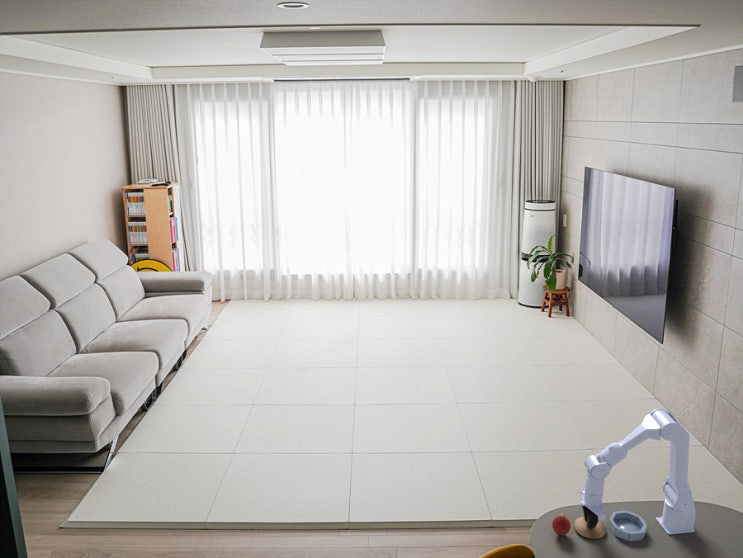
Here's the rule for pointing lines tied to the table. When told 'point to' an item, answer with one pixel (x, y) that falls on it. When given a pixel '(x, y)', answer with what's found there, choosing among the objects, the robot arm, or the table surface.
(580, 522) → the lid
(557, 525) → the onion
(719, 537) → the table surface
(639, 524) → the bowl
